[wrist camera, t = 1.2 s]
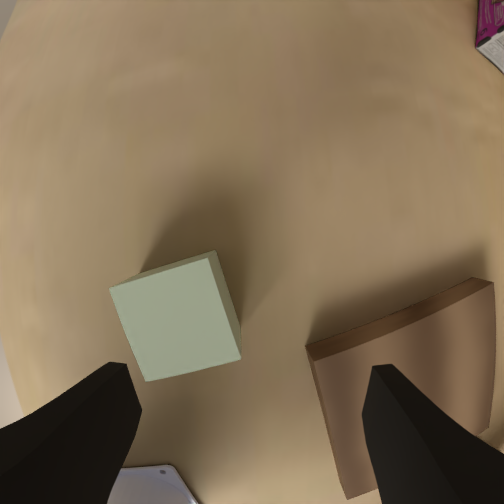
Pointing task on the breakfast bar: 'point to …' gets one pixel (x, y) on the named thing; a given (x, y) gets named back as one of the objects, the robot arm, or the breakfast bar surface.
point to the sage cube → (179, 317)
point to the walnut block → (409, 369)
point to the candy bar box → (491, 31)
